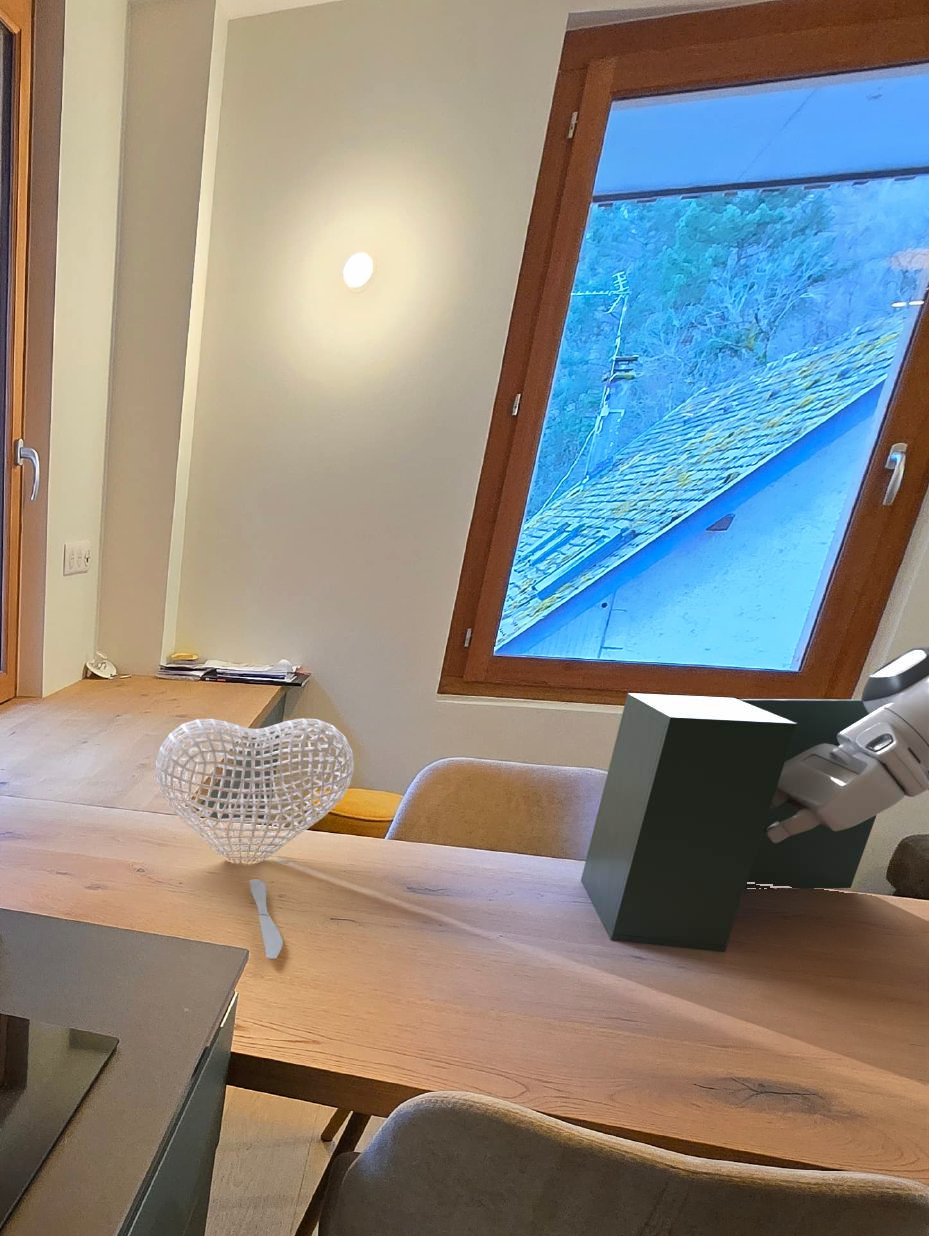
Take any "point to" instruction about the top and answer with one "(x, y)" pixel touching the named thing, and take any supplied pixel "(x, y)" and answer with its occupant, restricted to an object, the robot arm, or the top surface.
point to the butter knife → (266, 920)
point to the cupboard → (683, 817)
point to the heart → (253, 780)
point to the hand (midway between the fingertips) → (754, 828)
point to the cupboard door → (810, 853)
